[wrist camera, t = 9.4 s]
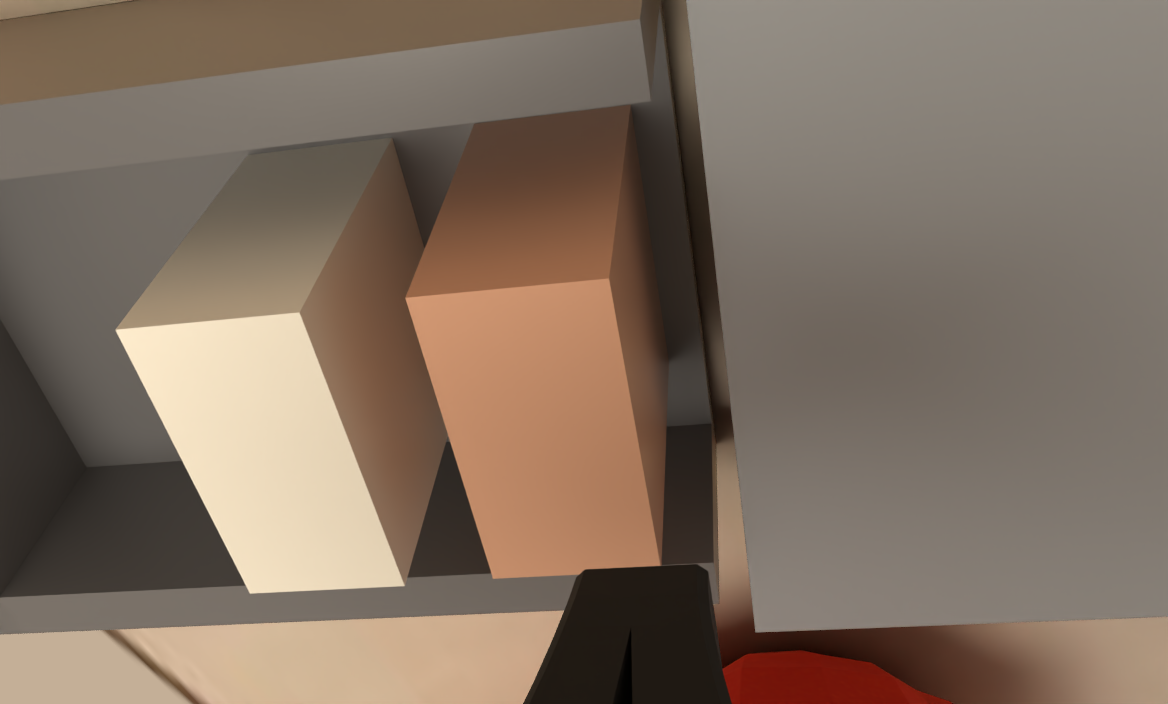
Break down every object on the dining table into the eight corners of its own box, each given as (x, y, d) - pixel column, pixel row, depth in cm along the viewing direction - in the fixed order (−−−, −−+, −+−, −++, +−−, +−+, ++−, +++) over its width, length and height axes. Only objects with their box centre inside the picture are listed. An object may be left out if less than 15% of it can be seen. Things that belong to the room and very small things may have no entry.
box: (652, -77, 15) (640, 19, 12) (716, 445, 21) (719, 603, 18) (-188, 48, 18) (-384, 156, 15) (75, 488, 24) (-24, 635, 20)
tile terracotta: (608, 278, 13) (405, 297, 13) (661, 570, 15) (492, 578, 16) (630, 104, 17) (474, 123, 17) (668, 361, 19) (534, 373, 20)
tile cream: (299, 312, 13) (114, 330, 14) (405, 585, 16) (250, 593, 17) (391, 137, 17) (247, 155, 18) (463, 381, 20) (337, 391, 21)
